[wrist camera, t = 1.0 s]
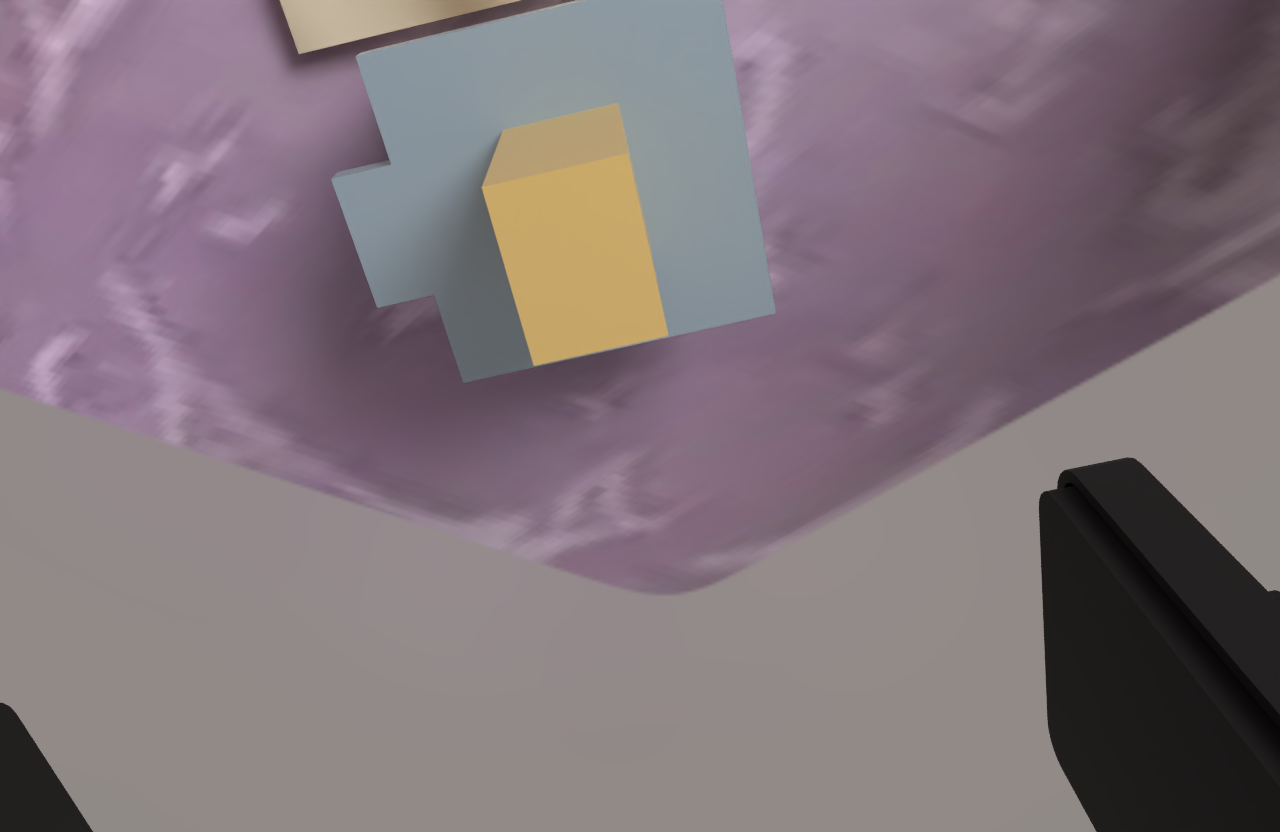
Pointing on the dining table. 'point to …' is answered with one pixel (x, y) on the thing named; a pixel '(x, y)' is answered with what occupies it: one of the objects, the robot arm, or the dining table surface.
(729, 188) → the lid
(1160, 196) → the dining table surface
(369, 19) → the board
